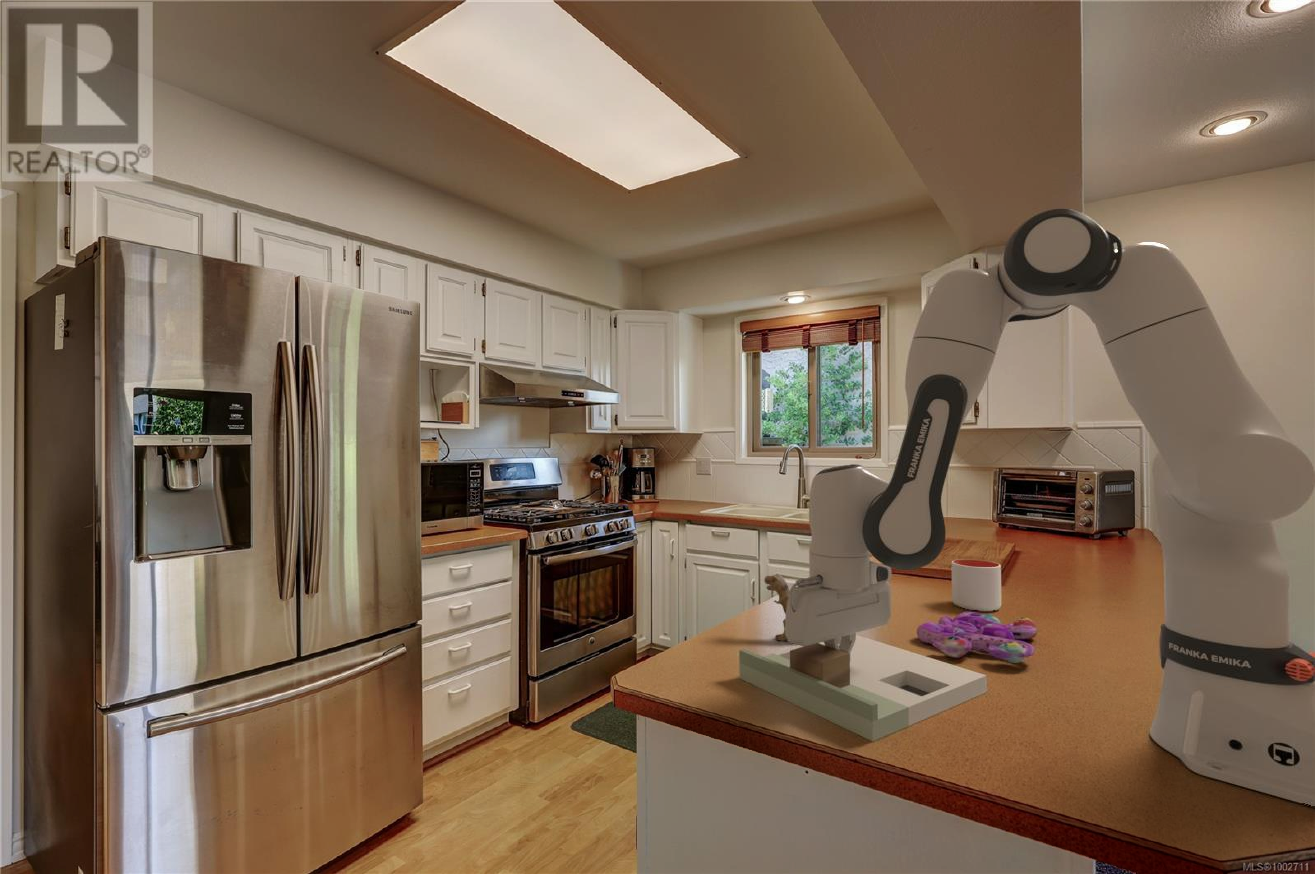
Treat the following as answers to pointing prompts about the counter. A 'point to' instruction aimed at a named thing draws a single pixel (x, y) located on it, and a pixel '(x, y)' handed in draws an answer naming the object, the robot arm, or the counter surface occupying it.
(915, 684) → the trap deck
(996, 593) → the cup
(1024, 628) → the decorative sculpture
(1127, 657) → the counter surface
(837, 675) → the walnut block
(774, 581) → the toy
